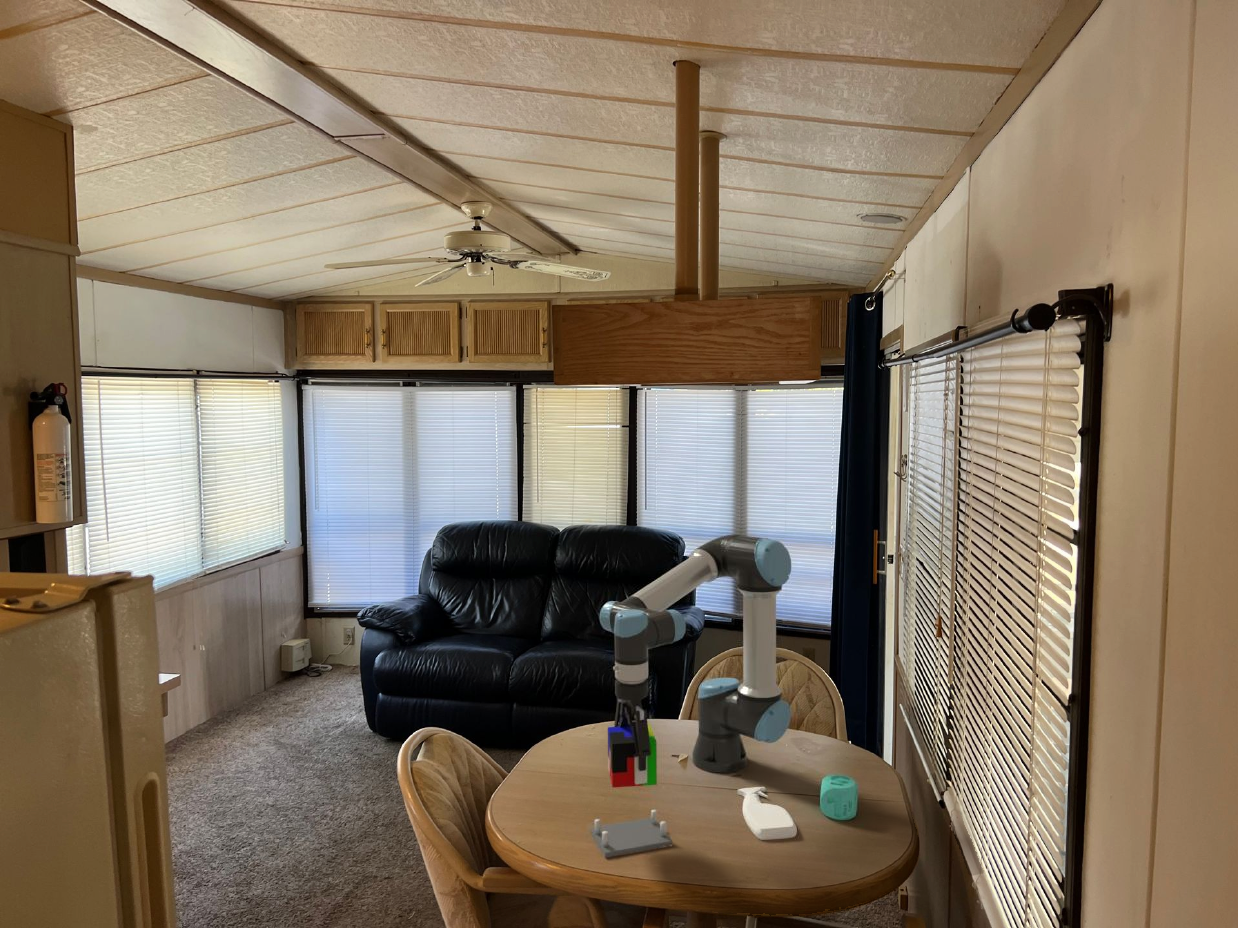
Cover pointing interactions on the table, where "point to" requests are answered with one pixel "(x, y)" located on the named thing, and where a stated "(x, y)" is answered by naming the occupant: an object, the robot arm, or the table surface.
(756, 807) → the spray bottle
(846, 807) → the decorative dice
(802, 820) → the table surface
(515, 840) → the table surface
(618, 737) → the puzzle toy
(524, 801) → the table surface
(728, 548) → the robot arm
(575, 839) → the table surface
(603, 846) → the pin tray
